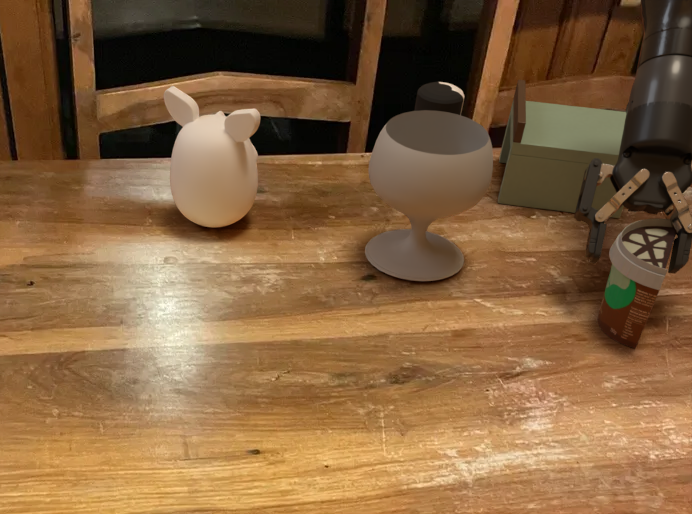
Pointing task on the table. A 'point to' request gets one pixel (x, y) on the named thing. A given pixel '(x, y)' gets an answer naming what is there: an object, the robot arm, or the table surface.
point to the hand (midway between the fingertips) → (634, 266)
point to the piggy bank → (212, 162)
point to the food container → (635, 278)
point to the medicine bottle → (440, 98)
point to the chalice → (427, 188)
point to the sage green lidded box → (556, 153)
